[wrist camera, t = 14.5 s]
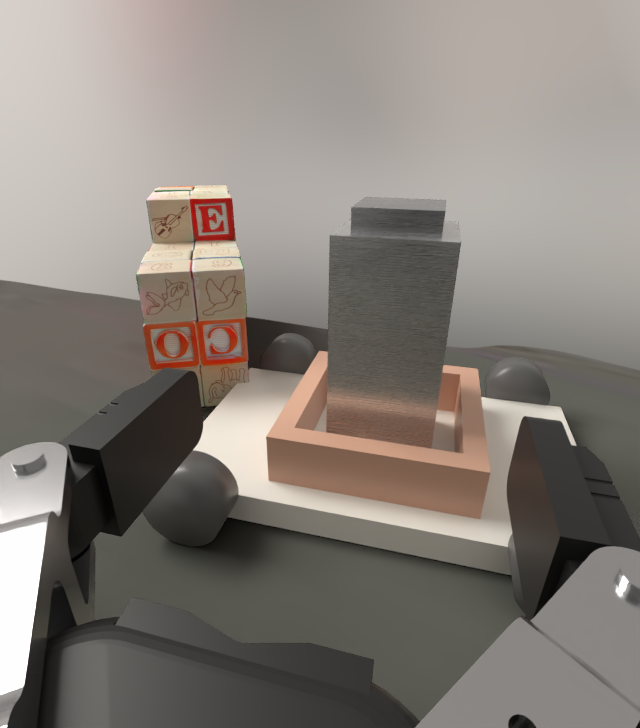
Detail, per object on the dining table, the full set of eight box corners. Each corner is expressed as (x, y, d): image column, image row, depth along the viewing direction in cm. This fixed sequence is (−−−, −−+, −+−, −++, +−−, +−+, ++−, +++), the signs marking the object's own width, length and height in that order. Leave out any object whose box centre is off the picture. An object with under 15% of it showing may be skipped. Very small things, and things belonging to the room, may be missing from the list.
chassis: (133, 533, 20) (116, 462, 19) (261, 374, 34) (259, 324, 33) (634, 646, 16) (675, 567, 14) (548, 411, 30) (563, 356, 28)
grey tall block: (325, 459, 23) (330, 208, 18) (345, 408, 27) (353, 195, 22) (427, 476, 22) (465, 214, 16) (431, 420, 26) (461, 199, 21)
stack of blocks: (253, 405, 31) (240, 214, 25) (156, 415, 30) (120, 217, 24) (237, 304, 49) (227, 182, 44) (177, 308, 48) (159, 183, 43)
